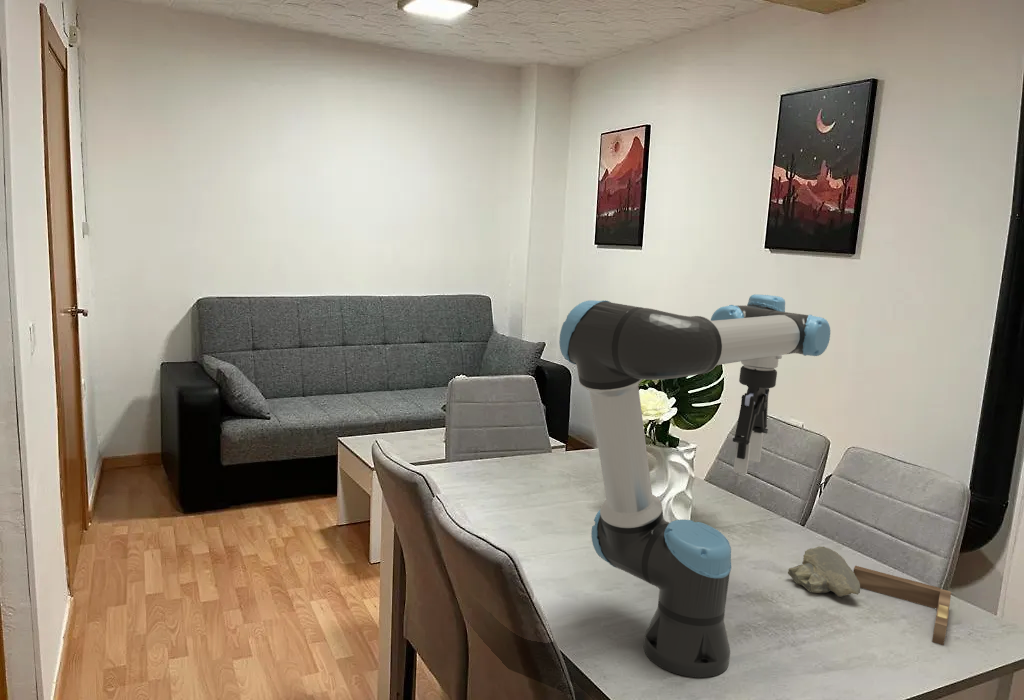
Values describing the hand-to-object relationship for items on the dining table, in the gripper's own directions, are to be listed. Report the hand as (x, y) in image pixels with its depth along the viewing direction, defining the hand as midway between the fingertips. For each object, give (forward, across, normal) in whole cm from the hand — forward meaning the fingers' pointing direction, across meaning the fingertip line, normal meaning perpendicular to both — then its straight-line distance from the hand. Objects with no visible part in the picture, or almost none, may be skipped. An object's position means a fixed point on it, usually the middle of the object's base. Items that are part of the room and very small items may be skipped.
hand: (746, 466), depth 168 cm
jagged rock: (+26, +6, -18) cm, 32 cm away
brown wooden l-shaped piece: (+26, +6, -32) cm, 42 cm away
